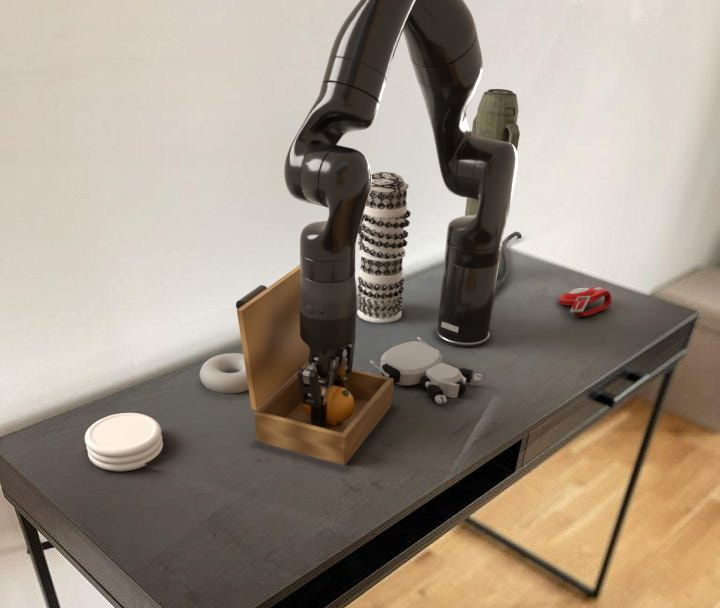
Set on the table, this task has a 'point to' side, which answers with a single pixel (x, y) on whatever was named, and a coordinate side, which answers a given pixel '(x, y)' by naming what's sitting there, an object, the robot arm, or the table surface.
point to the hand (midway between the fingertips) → (327, 414)
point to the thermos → (495, 126)
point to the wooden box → (332, 443)
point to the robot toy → (425, 370)
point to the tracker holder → (585, 300)
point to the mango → (336, 405)
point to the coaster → (123, 441)
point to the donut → (225, 374)
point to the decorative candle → (383, 249)
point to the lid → (271, 336)
